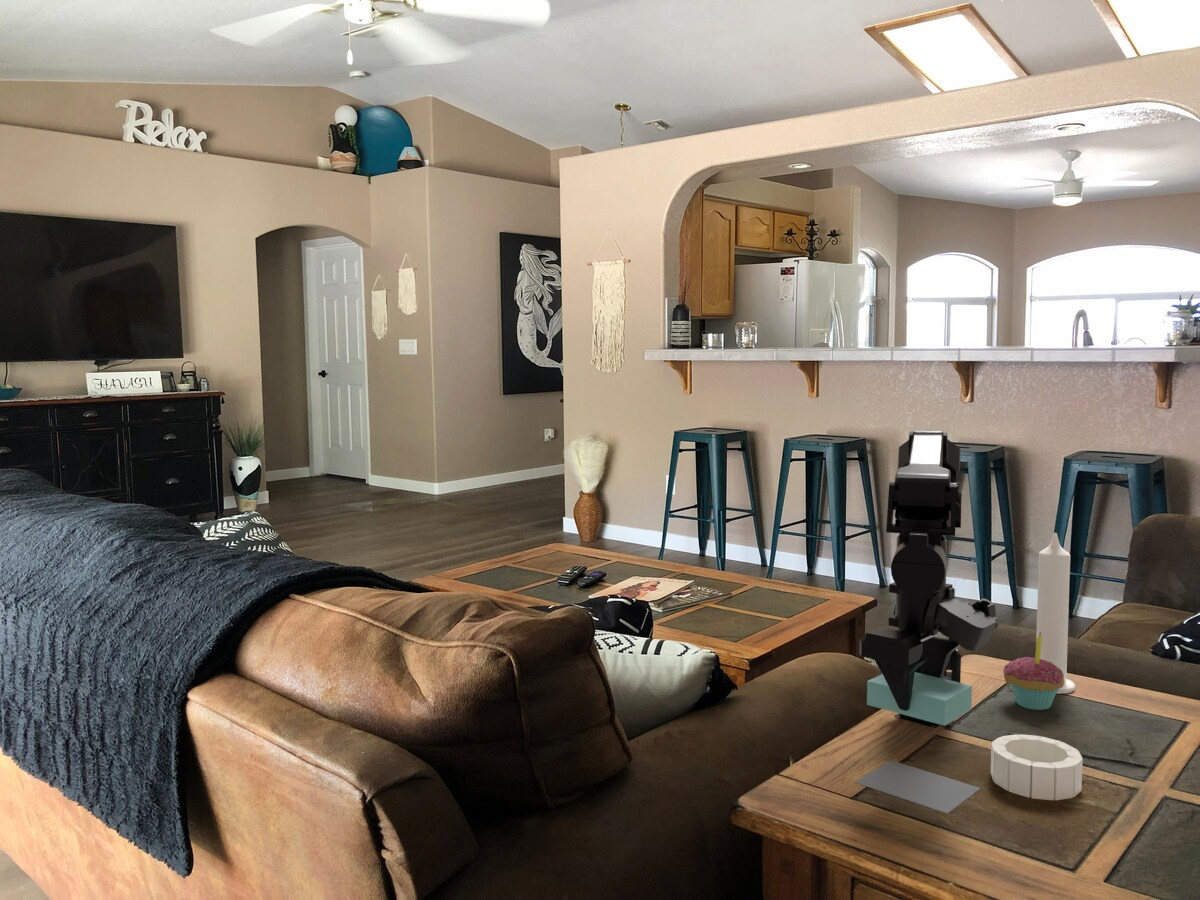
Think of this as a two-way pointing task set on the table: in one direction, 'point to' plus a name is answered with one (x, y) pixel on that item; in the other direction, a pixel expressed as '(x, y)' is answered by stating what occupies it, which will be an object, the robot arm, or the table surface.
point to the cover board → (924, 698)
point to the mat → (918, 786)
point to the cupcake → (1034, 680)
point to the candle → (1054, 607)
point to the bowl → (1036, 767)
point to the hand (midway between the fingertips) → (918, 701)
